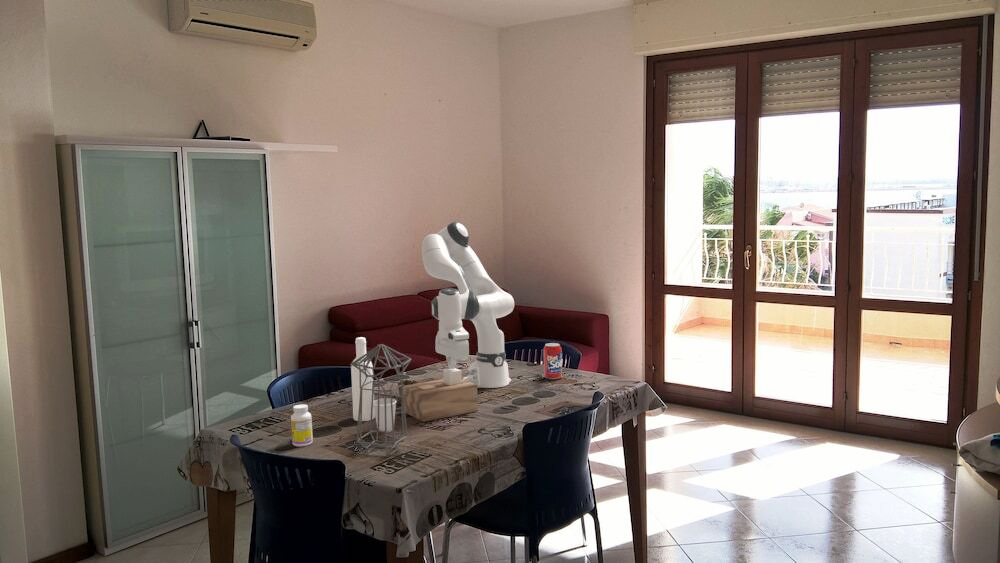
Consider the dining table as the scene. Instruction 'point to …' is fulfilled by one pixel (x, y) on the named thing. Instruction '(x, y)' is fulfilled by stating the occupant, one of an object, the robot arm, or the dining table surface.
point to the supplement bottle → (301, 426)
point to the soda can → (552, 361)
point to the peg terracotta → (426, 387)
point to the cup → (406, 384)
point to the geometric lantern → (356, 364)
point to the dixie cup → (382, 413)
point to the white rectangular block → (452, 376)
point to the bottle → (356, 384)
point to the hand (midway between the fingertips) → (452, 368)
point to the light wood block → (440, 400)
